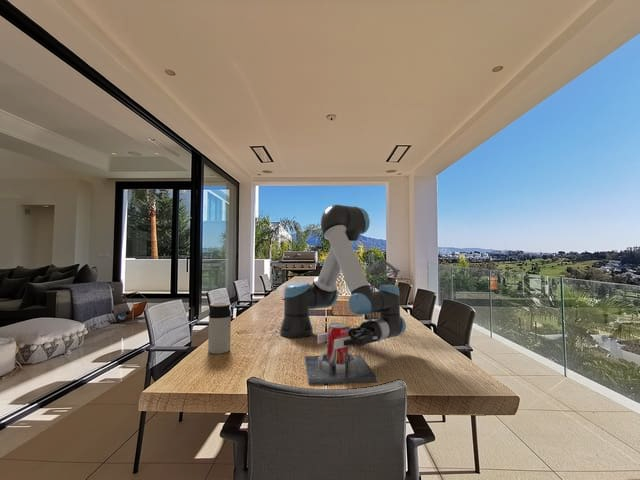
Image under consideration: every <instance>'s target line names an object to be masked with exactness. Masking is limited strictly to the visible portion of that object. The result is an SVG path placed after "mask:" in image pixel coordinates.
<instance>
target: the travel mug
mask: <svg viewBox="0 0 640 480" xmlns="http://www.w3.org/2000/svg"><path fill="white" fill-rule="evenodd" d="M230 305H231V302H228V301H227V302H225V301H217V302H212V303H210V304H209V306H210V310H209V312H208V340H207V342H208V345H207V351H208V353H210V354H213V355H220V354H225V353H228V352H230V351H231V330H232V329H231V328H232V327H231V326H232V325H231V324H232V323H231V321H232V320H231V319H232V317H231V316H232V312H231V310H230Z"/></svg>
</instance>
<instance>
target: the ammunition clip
mask: <svg viewBox="0 0 640 480" xmlns="http://www.w3.org/2000/svg"><path fill="white" fill-rule="evenodd" d="M368 317H369V314H366V315H363V319H364V320H369V319H368ZM372 317H375V313H373V315H372ZM376 317H380V312H376ZM370 318H371V313H370ZM372 319H375V318H372ZM376 319H379V318H376Z"/></svg>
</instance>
